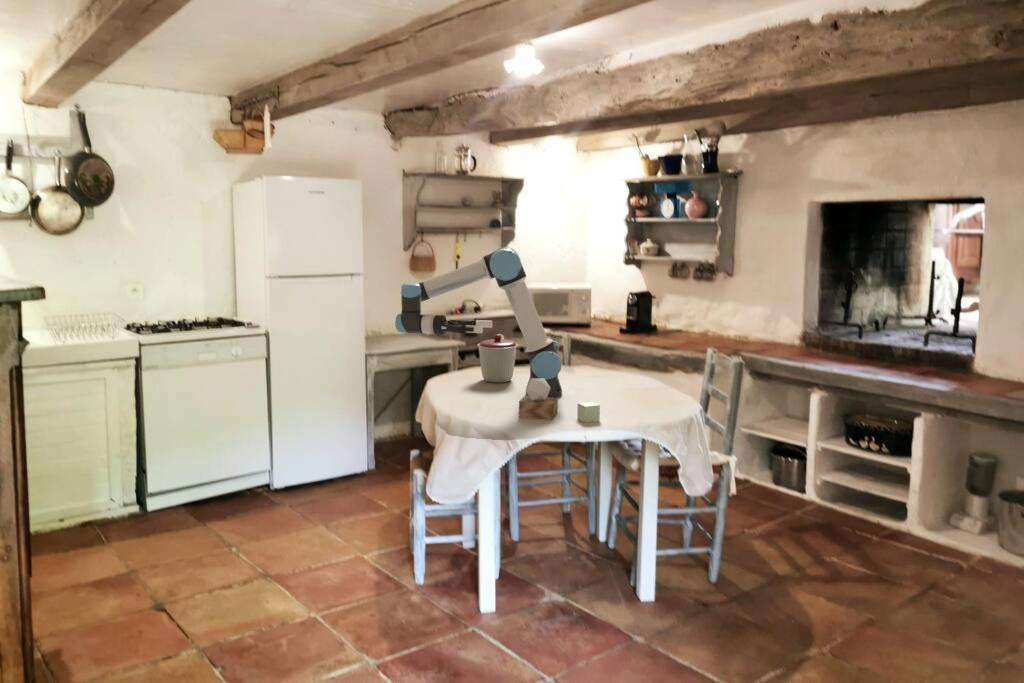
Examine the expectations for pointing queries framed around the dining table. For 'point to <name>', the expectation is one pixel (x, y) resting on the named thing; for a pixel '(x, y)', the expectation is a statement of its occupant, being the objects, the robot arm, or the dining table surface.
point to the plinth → (538, 408)
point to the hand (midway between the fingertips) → (487, 326)
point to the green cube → (588, 411)
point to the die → (538, 389)
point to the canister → (497, 359)
